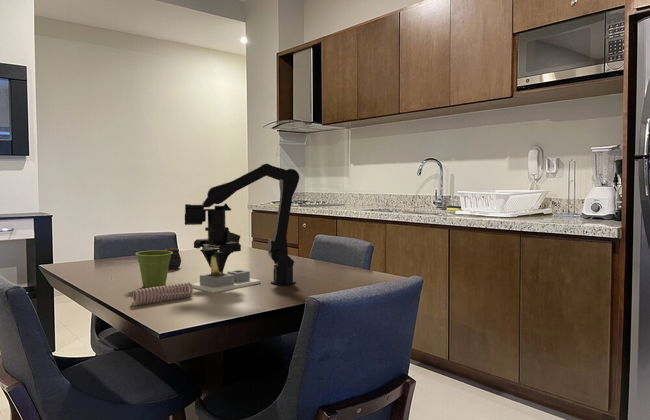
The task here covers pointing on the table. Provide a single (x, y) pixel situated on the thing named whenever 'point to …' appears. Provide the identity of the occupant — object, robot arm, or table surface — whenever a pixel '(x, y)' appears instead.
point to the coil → (166, 296)
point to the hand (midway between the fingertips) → (217, 271)
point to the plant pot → (154, 267)
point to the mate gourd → (174, 258)
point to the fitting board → (225, 281)
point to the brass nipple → (215, 268)
